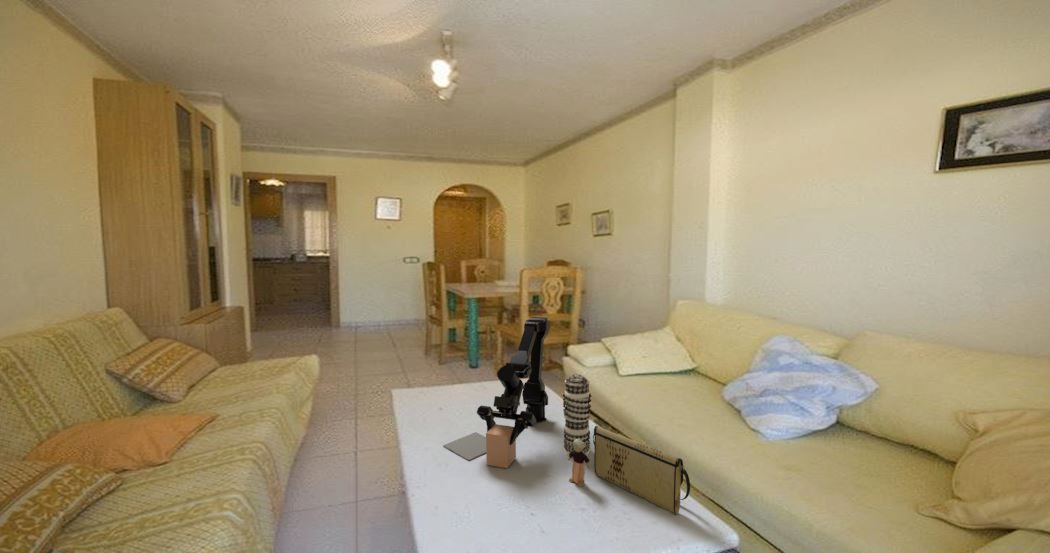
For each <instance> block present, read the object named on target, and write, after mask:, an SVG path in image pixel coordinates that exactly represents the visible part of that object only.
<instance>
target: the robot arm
mask: <svg viewBox="0 0 1050 553" xmlns="http://www.w3.org/2000/svg"><path fill="white" fill-rule="evenodd" d="M523 326H524V327H523V332H522V336H521V339H520V342H519V345H518V349H517V352H516V353H515V354H514V355H513V356H511V357H510V360H509V362H506V363H505V365H503V366H501V367H500V368H499V369H498V370H497V373H496V375H497V378H498V380H499V382H500V384H501V385H502V387H503V388H504V391H503V393H501V395H500V396H498V395H497V396H496V395H494V401H493V407H495V409H496V410H494V409H492V407H491V406H487V405H480V406H478V408H477V410H476V414H477V416H478V417H479V418H480V419H481V420H483V421H485V422H486V433H487V432H488V431H489V430H490V429H491V428H492V427H493V426H494V425H495V424H497V422H496V421H495V420H494V419H503V420H511V421H512V420H513V421H514V426H513V427H514V429H513V432H512V435H511V439H510V445H512V444H513V442H514V441H515V440H516V441H517V439H518V437H519V436H520V434H522V433H523V432H524V431H525V430H528V429H529V427H530V428H536V424H537V423H538V422H539V423H540V422H545V421H547V420H548V419H547V417H546V406H548V405H549V396H548V394H547V391H546V385H545V383H544V381H543V379H542V374H543V372H542V371H543V357H544V342H545V339H546V338H547V336H549V331H550V329H551V321H550V320H549V319H548V317H544V316H541V317H540V316H531V317H530V319H526V320H525V322H524V325H523ZM521 379H527V381H525V382H523V381H522V380H521ZM521 396H522V401H523V405H526V407H525V410H521V411H520V414H519V413H518V412H517V411H518V408H519V407H520V406H521V402H520V400H521ZM497 410H498V411H497Z"/></svg>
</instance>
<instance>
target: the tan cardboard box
mask: <svg viewBox="0 0 1050 553" xmlns="http://www.w3.org/2000/svg"><path fill="white" fill-rule="evenodd" d="M513 429H514V426H511V425H510V426H509V425H505V424H504V425H503V424H497V423H496V424H495V425H494V426H493V427H492V428H491V429H490V430H489V431H488V432H487V431H486V433H485V437H486V453H485V454H486V457H485V459H486V466H492V467H498V468H504V469H509V467H510V466H511V465H512V464H513V462H514V461H515V459H516V458H517V444H516V443H517V439H516V440H515V441H514V442H513V444H512V445H510V439H511V435H512V432H513Z"/></svg>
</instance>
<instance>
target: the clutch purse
mask: <svg viewBox="0 0 1050 553" xmlns="http://www.w3.org/2000/svg"><path fill="white" fill-rule="evenodd" d="M592 437H593V438H592V441H593V446H594V456H593V457H594V458H593V459H594V460H593V461H594V467H593V469H594V474H595V475H596V476H598V477H600V478H602V479H604V480H606V481H609V482H611V483H613V484H614V485H616V486H619V487H621V488H623V489H625V490H626V491H628V492H631V493H633V494H634V495H635V496H636V495H637V496H639V497H640V498H642V499H645V500H647V501H648V502H650V503H653V504H655V505H657V506H659V507H660V508H663V509H665V510H666V511H668V512H671V513H673V514H674V515H675V516H677V515H678V514H679V513H680V509H681V508H680V507H681V501H683V500H686V499H687V498H688V497H689V495H690V492H691V482H690V476H689V474H688V472H687V470H686V467H685V466H684V460H683V459H682V458H681V457H680V458H679V457H678V456H674V455H672V454H669V453H667V452H664V451H662V450H659V449H657V448H654V447H651V446H649V445H647V444H644V443H641V442H638V441H637V440H634V439H631V438H628V437H626V436H624V435H621V434H618V433H615V432H613V431H611V430H608V429H606V428H603V427H600V426H598V425H595V426H594V428H593V436H592ZM684 477H685V481H686V482H685V483H686V493H685V496H684V497H683V498H681V487H682V485H683V482H684Z"/></svg>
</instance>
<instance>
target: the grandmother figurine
mask: <svg viewBox="0 0 1050 553" xmlns="http://www.w3.org/2000/svg"><path fill="white" fill-rule="evenodd" d="M573 444H574V450H573V451H572V452H571V453H570V454H569V456H568V457H567V461H568V462H571V461H572V470H571V476H570V477H569V479H568V481H569V482H570V483H576V484H577V486H583V485H584V484H585V483H586V481H585V464H586V466H587V468H588V469H591V468H592V465H591V462H590V461H591V460H590V459H589V457H588V455H587V456H586V455H585V454H584V453H583V452H582V450H583V449H584V448H585V444H584V443H583V441H582V440H580V439H575V440H574V442H573ZM572 459H573V460H572ZM584 482H585V483H584Z"/></svg>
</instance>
